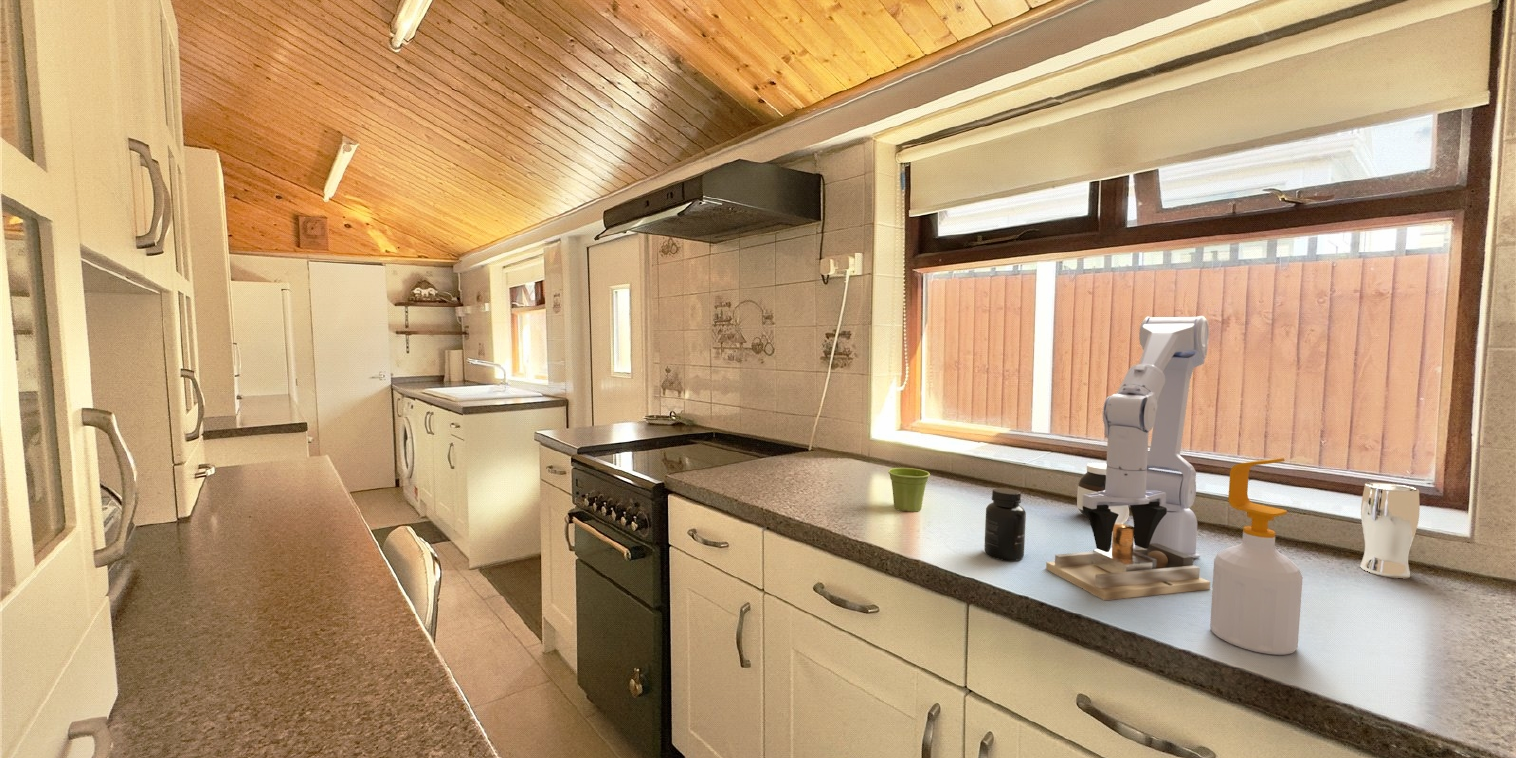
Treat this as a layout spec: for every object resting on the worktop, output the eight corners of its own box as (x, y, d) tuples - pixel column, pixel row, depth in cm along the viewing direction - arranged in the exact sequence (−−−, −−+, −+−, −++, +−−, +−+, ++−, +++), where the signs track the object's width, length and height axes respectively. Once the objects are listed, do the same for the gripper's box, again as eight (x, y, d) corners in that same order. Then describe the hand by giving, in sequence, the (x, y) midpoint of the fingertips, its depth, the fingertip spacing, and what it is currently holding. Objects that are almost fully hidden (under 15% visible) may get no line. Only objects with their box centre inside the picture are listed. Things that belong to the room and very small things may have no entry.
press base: (1141, 560, 111) (1143, 537, 111) (1209, 589, 98) (1211, 563, 98) (1046, 568, 106) (1047, 545, 106) (1104, 600, 94) (1105, 573, 94)
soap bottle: (1276, 663, 76) (1290, 466, 74) (1195, 631, 84) (1206, 453, 82) (1310, 647, 80) (1324, 460, 78) (1231, 618, 88) (1241, 448, 86)
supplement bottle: (1028, 563, 109) (1030, 496, 108) (987, 560, 110) (989, 494, 110) (1019, 550, 116) (1022, 487, 115) (981, 547, 117) (983, 485, 116)
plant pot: (907, 501, 150) (908, 466, 149) (937, 510, 142) (938, 473, 141) (878, 506, 145) (879, 470, 144) (907, 516, 137) (909, 478, 136)
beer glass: (1401, 568, 108) (1408, 484, 107) (1423, 582, 102) (1430, 493, 101) (1349, 562, 111) (1355, 480, 110) (1367, 575, 105) (1374, 488, 104)
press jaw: (1121, 561, 106) (1123, 519, 106) (1155, 576, 99) (1158, 531, 99) (1092, 563, 105) (1094, 521, 104) (1125, 579, 98) (1128, 534, 98)
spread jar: (1103, 510, 143) (1105, 461, 142) (1149, 524, 133) (1152, 471, 132) (1064, 515, 139) (1066, 464, 138) (1108, 530, 128) (1110, 475, 128)
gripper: (1108, 474, 95) (1104, 560, 96) (1184, 470, 99) (1179, 553, 100) (1075, 465, 102) (1071, 545, 103) (1147, 461, 106) (1143, 539, 106)
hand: (1122, 548), depth 102 cm, fingers open, 7 cm apart
